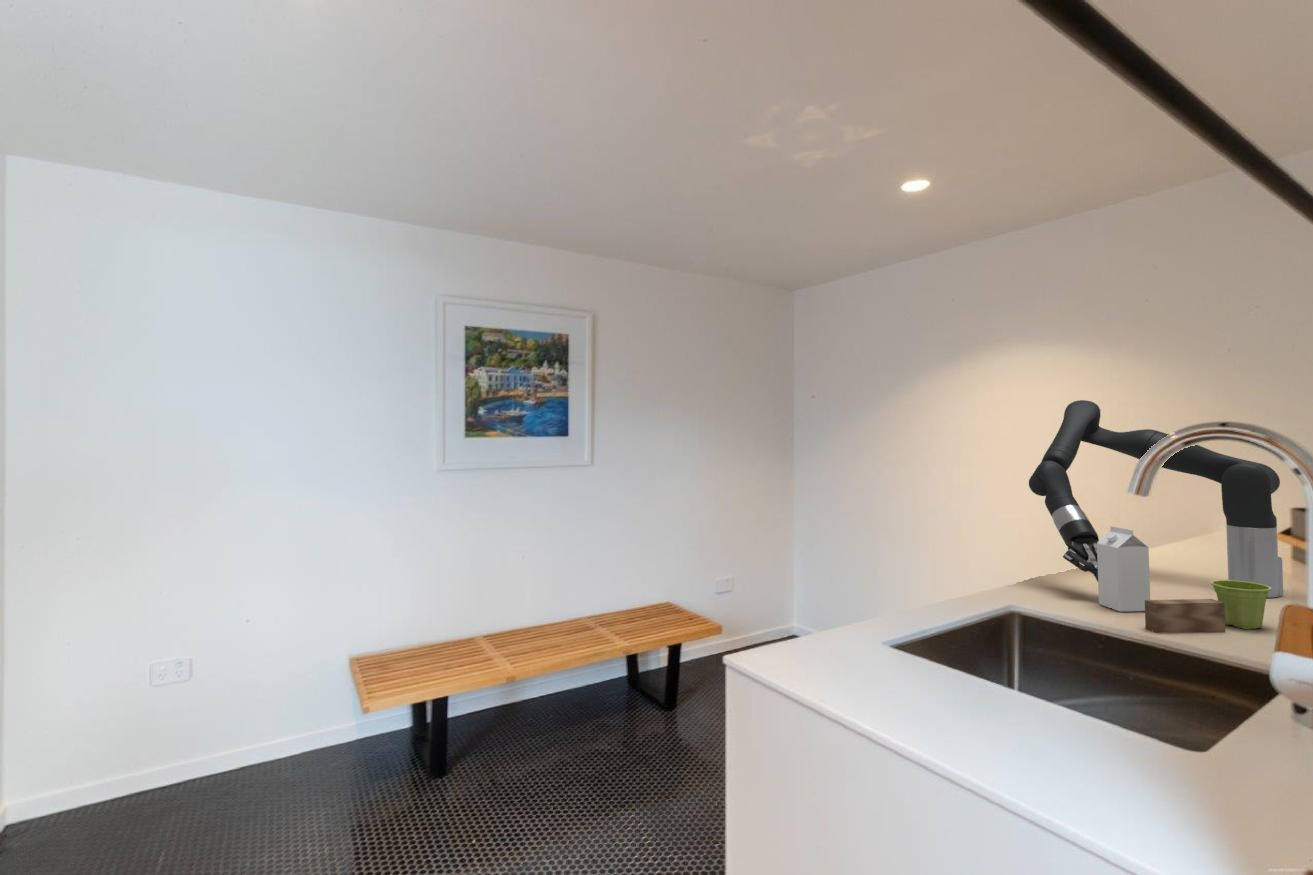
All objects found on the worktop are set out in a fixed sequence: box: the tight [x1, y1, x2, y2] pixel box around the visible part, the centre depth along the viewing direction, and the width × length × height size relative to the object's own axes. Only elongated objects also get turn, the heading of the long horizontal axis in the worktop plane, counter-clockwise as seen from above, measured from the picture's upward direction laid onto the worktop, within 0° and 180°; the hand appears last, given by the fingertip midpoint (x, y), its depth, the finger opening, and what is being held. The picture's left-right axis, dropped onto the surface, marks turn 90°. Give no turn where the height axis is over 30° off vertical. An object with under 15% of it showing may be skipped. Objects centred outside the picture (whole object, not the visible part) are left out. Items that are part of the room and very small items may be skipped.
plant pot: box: [1210, 579, 1271, 630], centre depth 130 cm, size 9×9×9 cm
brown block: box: [1144, 598, 1226, 633], centre depth 128 cm, size 14×3×6 cm, turn 89°
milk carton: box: [1097, 525, 1151, 612], centre depth 145 cm, size 7×7×19 cm
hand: (1107, 584), depth 149 cm, fingers closed
